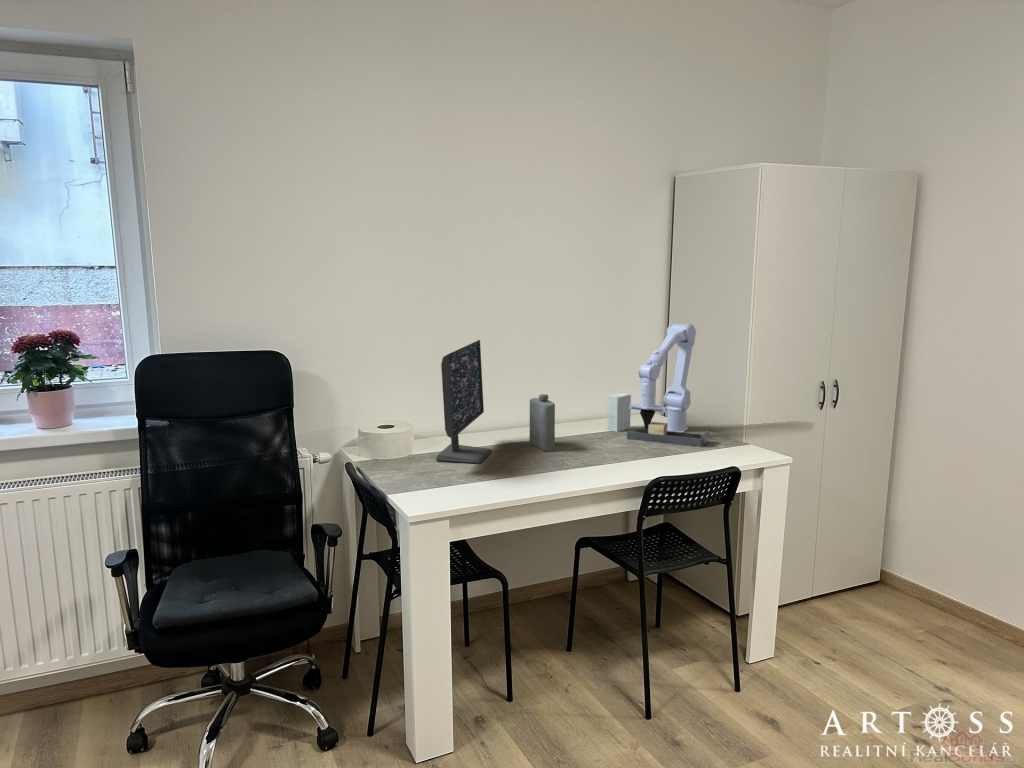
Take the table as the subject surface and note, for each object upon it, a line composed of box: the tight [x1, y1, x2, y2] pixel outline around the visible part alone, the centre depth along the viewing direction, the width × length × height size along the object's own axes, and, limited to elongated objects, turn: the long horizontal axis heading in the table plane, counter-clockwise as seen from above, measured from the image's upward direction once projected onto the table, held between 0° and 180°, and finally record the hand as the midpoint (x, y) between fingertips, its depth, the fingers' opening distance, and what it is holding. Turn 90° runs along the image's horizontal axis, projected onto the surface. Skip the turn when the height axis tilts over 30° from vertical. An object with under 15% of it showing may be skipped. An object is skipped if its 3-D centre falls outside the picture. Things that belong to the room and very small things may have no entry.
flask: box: [529, 393, 556, 452], centre depth 288 cm, size 15×6×20 cm, turn 24°
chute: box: [626, 427, 710, 448], centre depth 299 cm, size 9×30×4 cm, turn 64°
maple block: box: [648, 421, 668, 435], centre depth 301 cm, size 6×6×5 cm
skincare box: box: [606, 392, 632, 433], centre depth 317 cm, size 8×6×15 cm
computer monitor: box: [435, 339, 492, 464], centre depth 273 cm, size 44×16×40 cm, turn 168°
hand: (647, 428), depth 302 cm, fingers closed
